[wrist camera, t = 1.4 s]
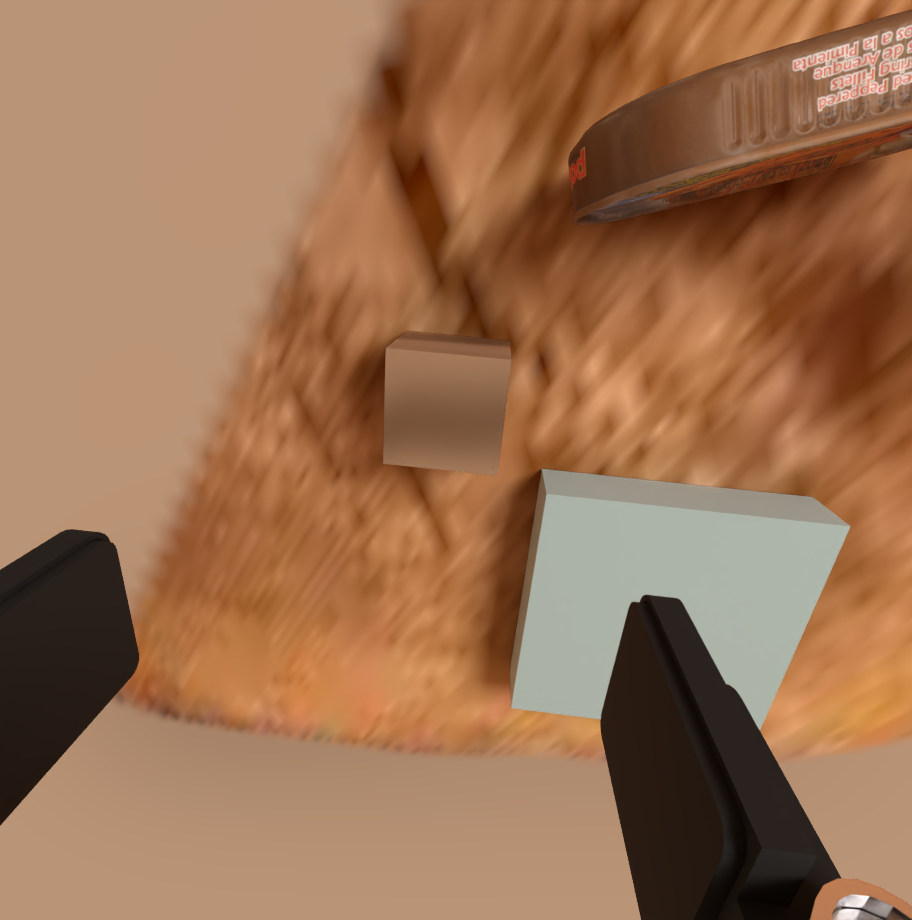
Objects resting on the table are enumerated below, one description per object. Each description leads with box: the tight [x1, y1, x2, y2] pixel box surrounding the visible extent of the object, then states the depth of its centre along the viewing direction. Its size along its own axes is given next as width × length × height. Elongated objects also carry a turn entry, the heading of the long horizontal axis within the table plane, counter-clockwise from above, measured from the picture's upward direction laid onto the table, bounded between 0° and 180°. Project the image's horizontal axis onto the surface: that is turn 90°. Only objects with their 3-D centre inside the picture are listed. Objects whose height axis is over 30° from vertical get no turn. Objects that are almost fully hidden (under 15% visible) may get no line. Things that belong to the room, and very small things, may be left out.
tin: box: [568, 9, 912, 225], centre depth 16 cm, size 15×3×8 cm, turn 103°
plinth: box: [510, 469, 850, 730], centre depth 27 cm, size 14×14×3 cm
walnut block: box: [383, 331, 512, 476], centre depth 23 cm, size 5×5×5 cm
